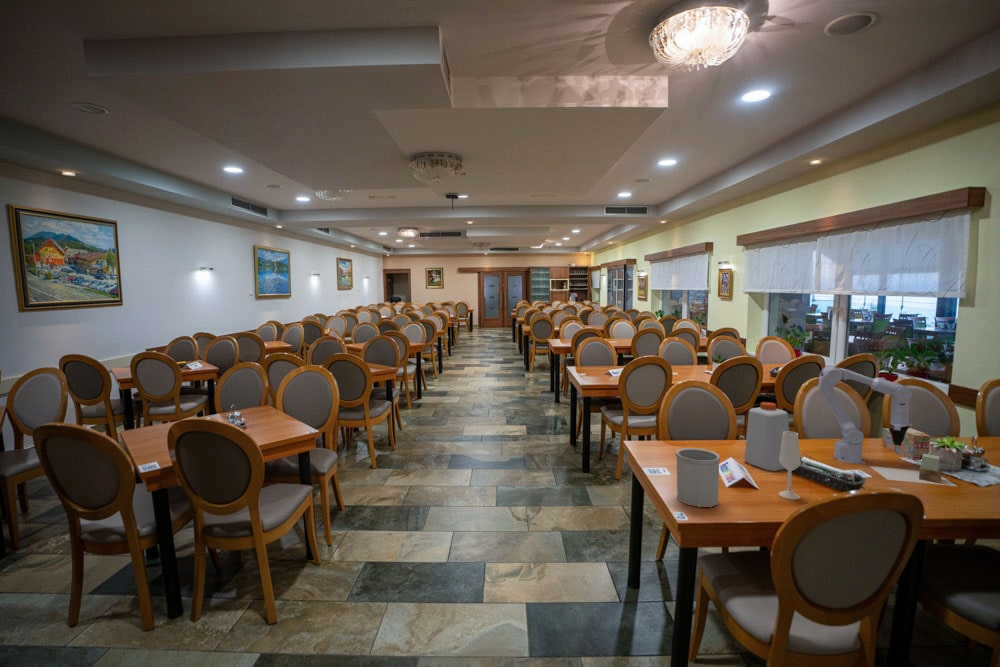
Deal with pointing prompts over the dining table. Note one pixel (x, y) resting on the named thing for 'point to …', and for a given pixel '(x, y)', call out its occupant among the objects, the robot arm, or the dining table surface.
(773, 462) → the plastic bottle
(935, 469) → the green block
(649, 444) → the dining table surface
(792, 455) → the champagne flute
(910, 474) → the white flat sheet
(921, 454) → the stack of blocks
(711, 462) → the utensil holder
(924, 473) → the walnut base block
